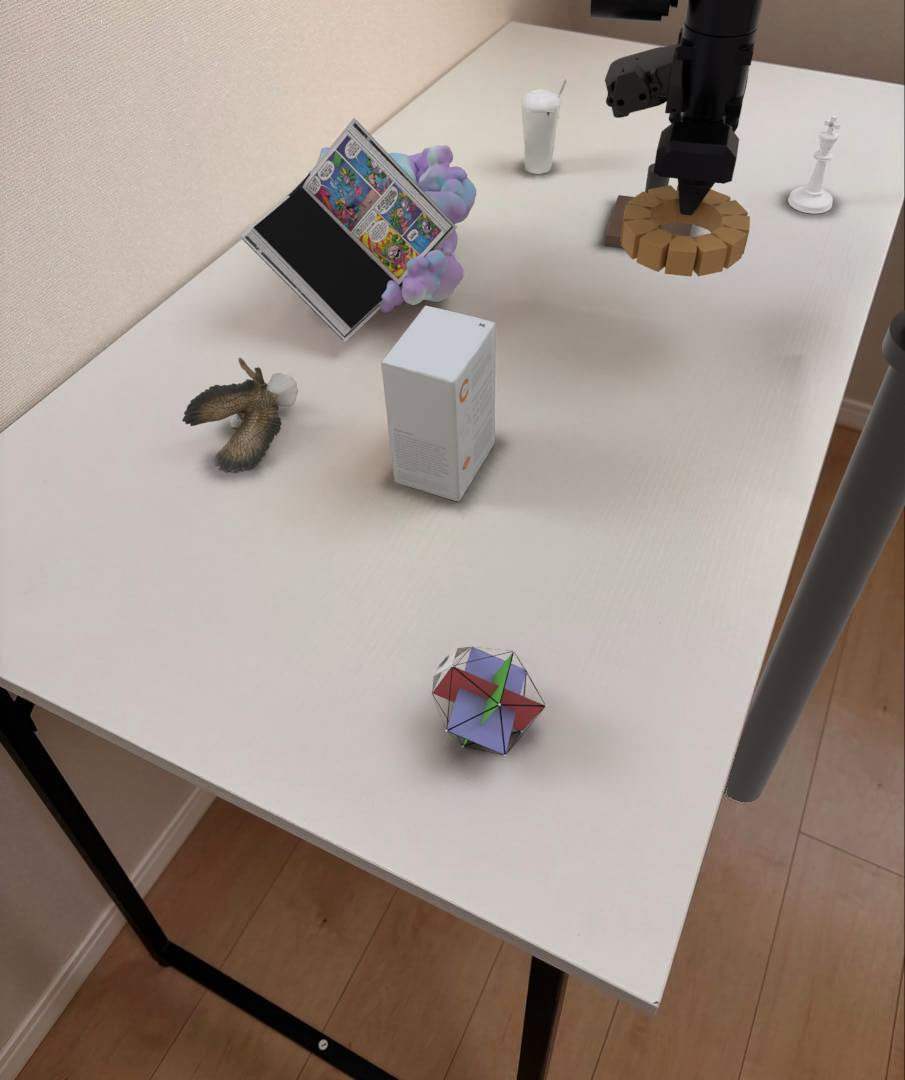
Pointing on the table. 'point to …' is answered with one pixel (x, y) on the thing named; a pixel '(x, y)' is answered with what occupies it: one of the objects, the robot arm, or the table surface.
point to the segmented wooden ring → (684, 251)
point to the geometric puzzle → (486, 699)
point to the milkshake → (540, 128)
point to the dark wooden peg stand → (618, 213)
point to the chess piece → (817, 176)
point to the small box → (441, 401)
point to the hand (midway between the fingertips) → (687, 206)
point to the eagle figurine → (244, 415)
